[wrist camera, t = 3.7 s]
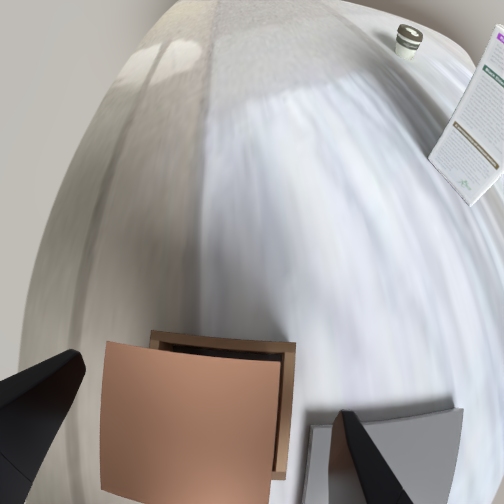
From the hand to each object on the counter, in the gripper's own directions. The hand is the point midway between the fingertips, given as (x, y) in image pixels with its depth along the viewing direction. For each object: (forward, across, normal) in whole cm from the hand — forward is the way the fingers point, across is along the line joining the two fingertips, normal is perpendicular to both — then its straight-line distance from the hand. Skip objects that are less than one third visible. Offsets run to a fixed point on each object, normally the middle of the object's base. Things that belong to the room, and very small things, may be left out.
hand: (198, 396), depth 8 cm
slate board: (-1, -11, +11) cm, 15 cm away
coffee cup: (+33, -15, -21) cm, 42 cm away
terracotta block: (+4, 0, +6) cm, 8 cm away
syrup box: (+19, -17, -8) cm, 26 cm away
